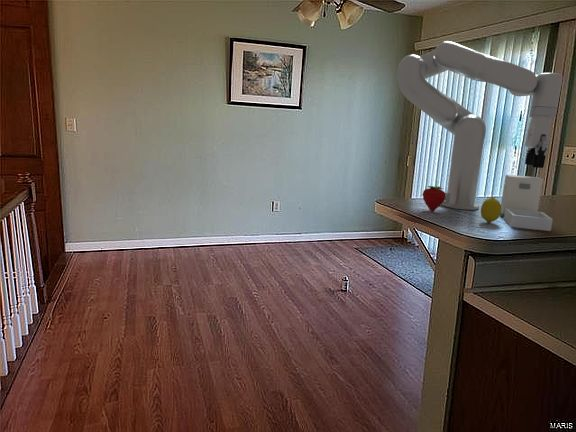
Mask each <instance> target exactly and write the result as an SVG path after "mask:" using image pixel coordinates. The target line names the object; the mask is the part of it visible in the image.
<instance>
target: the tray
mask: <svg viewBox="0 0 576 432" xmlns="http://www.w3.org/2000/svg"><path fill="white" fill-rule="evenodd" d="M503 220H504V221H505V222H506V223H507V225H508V226H510V227H511V228H518V229H527V230H535V231H536V230H537V231H545V232H551V231H552V226H553V221H554V220H553V218H552V217H550V216H549V215H547V214H546V213H544V212H542V211H538V212H535V211H525V210H515V209H505V215H504V218H503Z"/></svg>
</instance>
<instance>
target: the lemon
mask: <svg viewBox="0 0 576 432" xmlns="http://www.w3.org/2000/svg"><path fill="white" fill-rule="evenodd" d="M500 214H501V201H500V200H498V199H497V198H496V197H494V196H491V197H489V198H487V199H485V200H484V201H483V203H482V205H481V207H480V216H481V217H482V218H483V220H485V221H486V222H487V224H491V223H492V222H495V221H497V220H498V219H499V218H500Z"/></svg>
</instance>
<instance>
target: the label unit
mask: <svg viewBox="0 0 576 432" xmlns="http://www.w3.org/2000/svg"><path fill="white" fill-rule="evenodd" d="M543 184H544V179H543V178H542V177H539V176H528V175H516V174H514V175H513V174H505V177H504V184H503V191H502V195H501V201H500V205H501V214H500V216H499V218H503V219H504V215H505V209H515V210H525V211H535V212H539V211H538V210H539V206H540V202H541V201H540V200H541V194H542V188H543Z"/></svg>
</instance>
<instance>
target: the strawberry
mask: <svg viewBox="0 0 576 432" xmlns="http://www.w3.org/2000/svg"><path fill="white" fill-rule="evenodd" d="M438 183H439V181H438V180H437V182H436V184H438ZM426 187H428V188H426V189H424V190H423V191H422V198H423V201H424V203H425V205H426V206H427V209H429V211H430V212H435V211H436V210H437V209H438V208H439V207H440V206H442V205H441V204H442V203H443V202H444V199H445V197H446V195H445V192H446V191H444V190H443V188H442V187H441V186H438V185H436V186H433V185H427V186H426Z"/></svg>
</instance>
